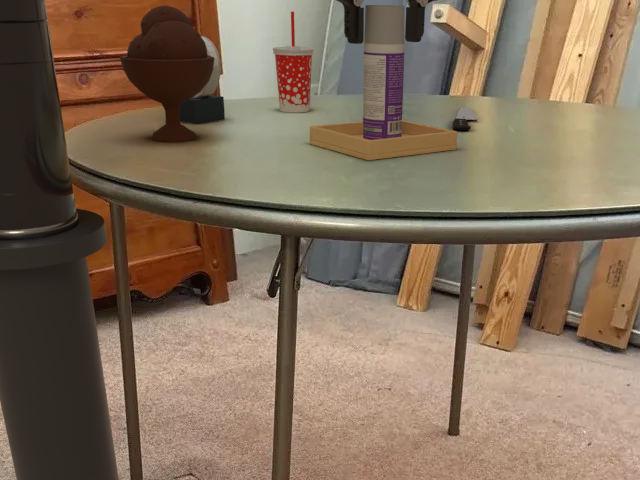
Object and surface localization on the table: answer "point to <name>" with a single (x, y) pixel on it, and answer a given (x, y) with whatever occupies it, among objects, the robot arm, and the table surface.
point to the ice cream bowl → (168, 66)
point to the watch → (205, 96)
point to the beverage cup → (293, 75)
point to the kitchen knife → (464, 119)
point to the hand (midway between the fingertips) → (384, 42)
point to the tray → (383, 140)
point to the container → (383, 71)
